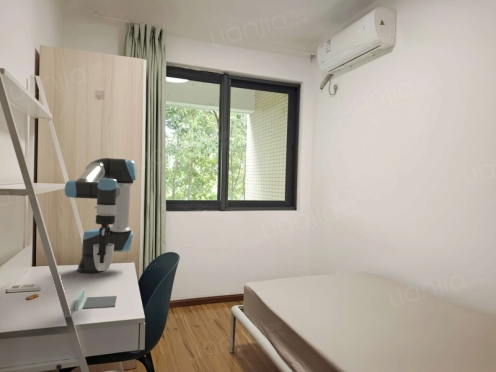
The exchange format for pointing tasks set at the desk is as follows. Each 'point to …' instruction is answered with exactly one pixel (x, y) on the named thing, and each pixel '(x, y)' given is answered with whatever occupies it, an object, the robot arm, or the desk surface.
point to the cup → (108, 255)
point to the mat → (100, 302)
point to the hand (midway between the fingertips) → (102, 267)
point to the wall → (79, 299)
